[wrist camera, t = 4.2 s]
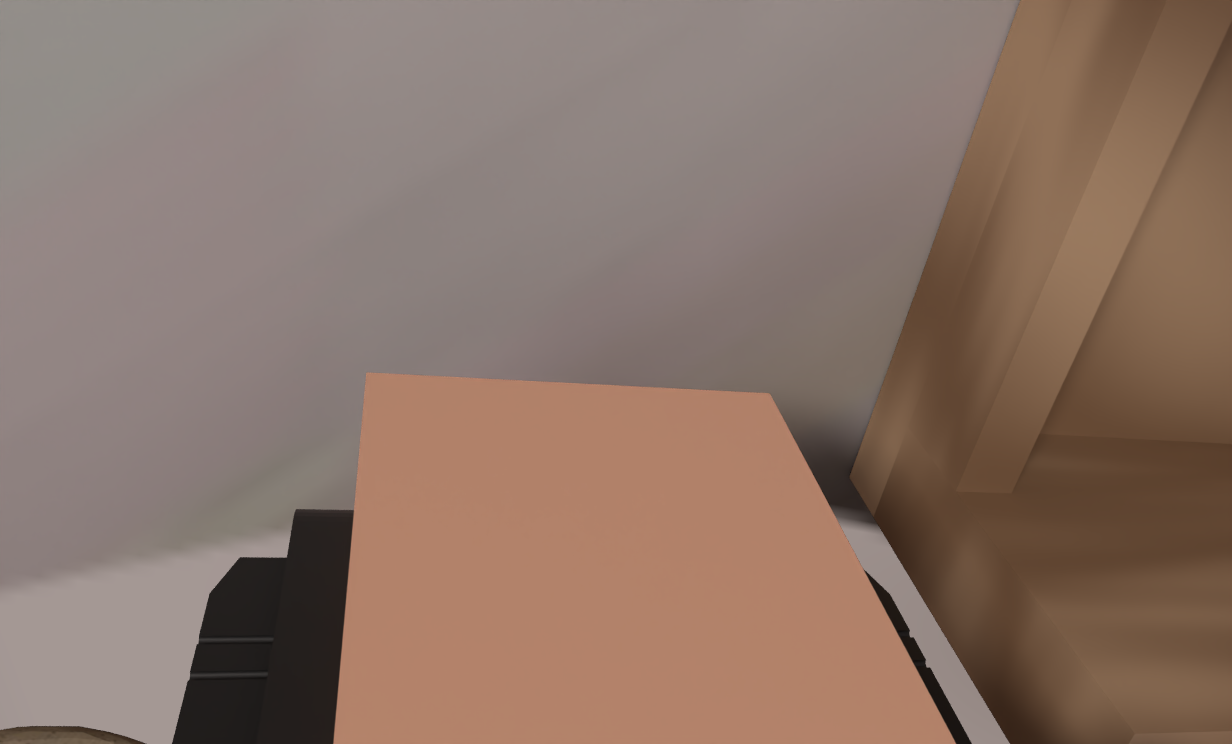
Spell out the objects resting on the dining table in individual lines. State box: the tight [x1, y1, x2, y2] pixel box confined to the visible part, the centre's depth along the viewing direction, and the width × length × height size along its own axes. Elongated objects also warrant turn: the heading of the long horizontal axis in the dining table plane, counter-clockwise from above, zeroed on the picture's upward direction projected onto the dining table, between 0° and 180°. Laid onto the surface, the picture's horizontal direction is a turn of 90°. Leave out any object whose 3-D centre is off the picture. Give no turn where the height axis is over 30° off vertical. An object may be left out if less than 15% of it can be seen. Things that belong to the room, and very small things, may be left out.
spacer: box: [333, 373, 956, 744], centre depth 10 cm, size 4×4×6 cm
